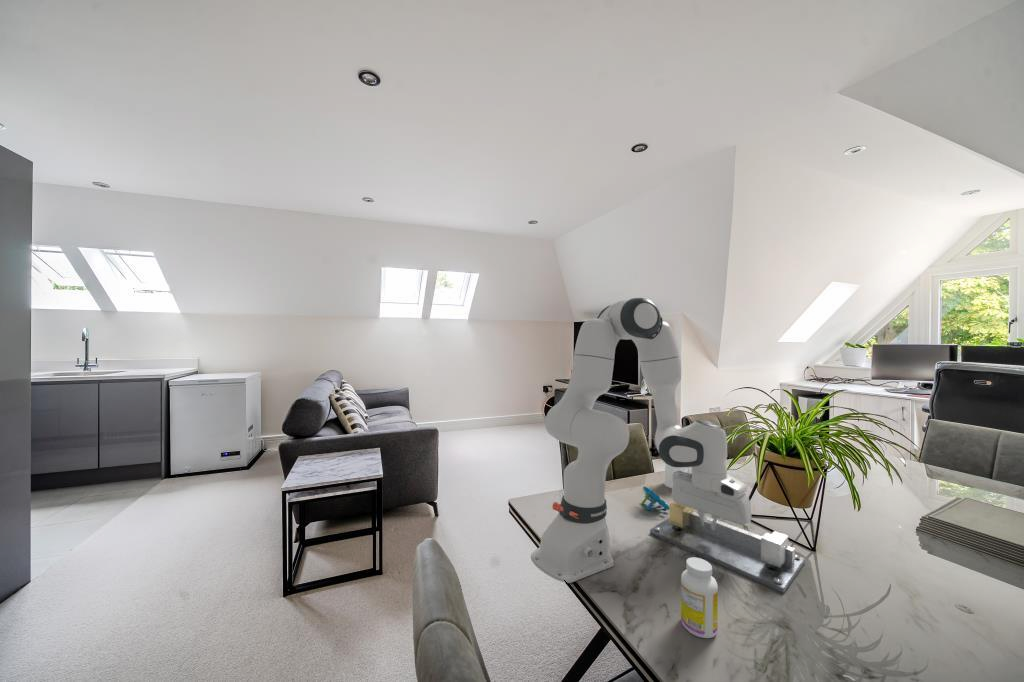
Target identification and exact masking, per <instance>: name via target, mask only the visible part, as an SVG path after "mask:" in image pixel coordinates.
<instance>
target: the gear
mask: <svg viewBox="0 0 1024 682" xmlns="http://www.w3.org/2000/svg"><path fill="white" fill-rule="evenodd" d="M642 490H643V491H644V494H645V496H644V499H643V500H642V501H641V504H642V505H645V503H646V501H649V504H648V505H647V506H646V508H645V509H646V511H649V510H650V509H651V508H652V507H653V506H654V505H655V504H656V503H658V505H659V506H661V507H663V508H664V510H667V511H669V504H667V503H666V501H664V500H663V499H661V497H660V496H659V495H658V494H655V492H654V491H653V490H651V489H649V487H647V486H645V485H644V486H643V487H642Z"/></svg>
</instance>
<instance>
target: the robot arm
mask: <svg viewBox="0 0 1024 682" xmlns="http://www.w3.org/2000/svg"><path fill="white" fill-rule="evenodd" d="M620 340H626V341H627V340H631V341H632V342H633V344H634V345H635V347H636V349H637V355H638V361H639V362H638V363H639V366H640V371H641V374H642V376H643V379H644V382H645V384H646V387H647V388H648V389H649V391H650V394H651V396H652V401H653V407H654V412H655V420H656V423H655V428H654V432H653V437H652V438H653V439H652V440H653V443H654V446H655V448H656V449H657V452H658V455H659V457H660V459H661V460H662V461H663V462H664V464H665V463H666V464H668V465H670V466H672V467H690V468H691V474H690V473H689V472H687V473H685V472H682V471H677V472H674V473H673V487H672V488H671V499H672V501H673V502H676V503H679V504H682V505H685V506H688V507H691V508H694V510H696V511H697V513H698V515H699V516H700V518H701V520H702V526H703V527H705V528H708V529H711V530H715V523H716V522H717V521H719V520H720V519H723V520H726V521H728V522H731V523H734V524H737V525H740V526H742V527H745V526H747V525H749V524H750V522H752V508H751V501H750V498H749V496H748V495H747V494H746V492H747V491H748V486H747V484H746V483H744V482H742V481H741V480H739V479H738V478H735V477H734V476H732V475H731V474H729V473H728V468H727V464H726V463H727V458H728V440H727V439H728V438H727V433H726V431H725V429H724V428H723V427H722V426H721V425H719V424H718V423H716V422H713V421H710V420H705V419H696V420H695V421H694V422H692V423H690V424H689V425H686V426H684V427H683V426H682V425H681V423H680V421H679V415H678V409H677V405H676V404H677V403H676V398H675V396H676V395H675V394H676V389H677V386H678V385H679V383H680V382H681V381H682V360H681V356H680V351H679V346H678V343H677V339H676V337H675V333H674V332H673V329H672V326H671V325H670V324H669V323H668V322H666V321H664V320H663V317H662V315H661V313H660V310H659V309H658V307H657V305H656V304H655V303H654V302H653V301H652V300H650V299H648V298H643V297H633V298H631V299H626V300H621V301H617V302H616V303H613V304H610V305H608V306H606V307H605V308H603V309H602V310H601V311H600V313H599V314H598V316H597V317H596V318H591V319H587V320H585V321H584V322H582V325H581V326H580V329H579V332H578V335H577V339H576V343H575V348H574V353H573V358H572V359H573V360H572V367H571V372H570V378H569V381H568V385H567V387H566V390H565V392H564V394H563V396H562V397H561V399H560V400H559V401H558V402H557V403H556V404H555V405H554V406H551V408H550V409H549V410H548V412H547V414H546V416H545V429H546V431H547V433H548V434H549V436H551V437H552V438H555V440H557V441H559V442H560V443H563V444H566V445H569V446H571V447H574V448H577V458H576V460H574V461H571V462H570V463H569V464H568V465H566V467H565V468H564V470H563V471H564V472H563V495H562V497H561V501H560V503H559V502H557V501H554V502H553V503H552V505H551V508H552V510H553V511H556V512H557V513H558V514H557V515H556V516H555V518H554V519H553V520H552V522H551V523H549V525H548V526H547V528H546V529H545V530H544V532H543V533H542V535H541V538H540V545H539V547H538V548H536V549H534V551H532V552H531V553H530V560H531V562H532V563H533V564H534V566H535V567H536V568H537V569H538V570H540V571H541V572H543V573H544V574H546V575H547V576H549V577H551V578H552V579H554V580H557V581H559V582H563V583H566V582H567V584H571V583H574V582H577V581H579V580H581V579H584V578H586V577H589V576H592V575H594V574H596V573H599V572H601V571H605V570H607V569H610V568H612V567H614V565H615V560H614V557H612V551H611V541H610V532H609V528H608V527H609V526H608V523H607V520H606V516H607V510H608V505H607V500H606V478H607V472H608V468H609V467H610V463H612V461H613V460H614V458H616V457H617V456H619V455H621V454H622V453H623V452H624V451H625V450H626V449H627V447H628V445H629V441H630V429H629V427H628V424H627V423H626V421H625V420H624V419H623V418H621V417H620V416H617V415H614V414H612V413H610V412H607V411H604V410H603V411H602V410H599V409H593V408H594V405H595V402H596V400H597V399H598V398H599V397H600V396H602V395H604V394H606V393H607V392H608V391H609V390H610V389H611V387H612V382H613V380H612V379H613V372H614V365H615V354H616V348H617V345H618V344H619V341H620ZM706 514H709V515H710V516H711V518H712V519H714V520H713V521H710V520H707V518H706V516H707V515H706ZM564 580H565V581H566V582H565V581H564Z"/></svg>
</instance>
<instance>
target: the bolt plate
mask: <svg viewBox="0 0 1024 682" xmlns="http://www.w3.org/2000/svg"><path fill="white" fill-rule="evenodd" d="M649 534H650V535H652V536H654V537H656V538H659V539H662V540H663V541H665V542H668V543H670V544H672V545H675V546H677V547H679V548H682V549H683V550H686V551H688V552H690V553H692V554H695V555H697V556H699V557H702V559H705V560H709V561H710V562H712V563H715V564H717V565H719V566H722V567H724V568H726V569H728V570H730V571H733V572H734V573H737V574H739V575H742V576H744V577H745V578H749V579H751V580H753V581H754V582H758V583H760V584H761V585H764V586H766V587H768V588H770V589H773V590H775V591H777V592H779V593H782V594H785V592H786V590H787V589H788V588H789V586H790V585H791V584H792V583H793V581H794V579H795V578H796V577H797V575H798V573H799V572H800V570H801V569H802V568H803V566H804V565H805V561H806V560H805V558H804V557H802V556H800V555H799V554H797V553H795V563H794V565H793V567H791V566H788V565H786V564H782V566H781V567H778V566H775V569H773V568H771V567H770V563H768V562H765V561H763V560H761V555H760V554H758V553H755V552H753V551H750V550H748V549H745V548H743V547H740V546H738V545H735V544H733V543H730V542H728V541H725V540H723V539H720V538H718V537H715V536H713V535H710V534H708V533H705V532H702V531H700V530H697V529H695V528H692V527H690V526H687V525H686V526H685V527H683V528H681V529H678V528H677V525H674V524H672V523H669V517H667V518H666V519H665V520H663V521H662V522H660V523H658V524H657V525H655V526H653V527H652V528H650V529H649Z"/></svg>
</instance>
